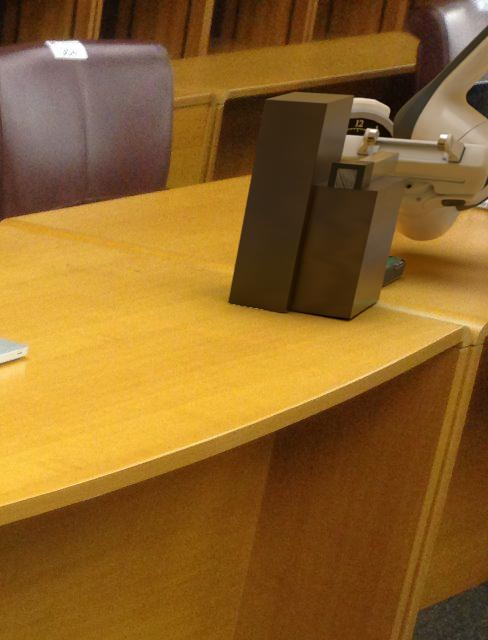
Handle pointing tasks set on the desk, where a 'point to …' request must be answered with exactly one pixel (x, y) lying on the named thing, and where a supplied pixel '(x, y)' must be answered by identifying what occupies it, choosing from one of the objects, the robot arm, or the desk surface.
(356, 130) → the alarm clock
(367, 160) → the handle bar
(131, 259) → the desk surface
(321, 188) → the stepped stand
